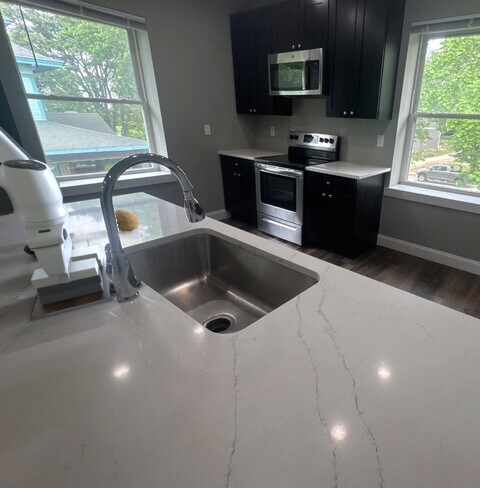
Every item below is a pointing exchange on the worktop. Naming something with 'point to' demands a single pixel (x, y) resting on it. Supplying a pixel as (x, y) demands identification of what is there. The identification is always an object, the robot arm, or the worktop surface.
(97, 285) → the grey stack
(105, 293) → the shallow tray
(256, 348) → the worktop surface
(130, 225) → the potato
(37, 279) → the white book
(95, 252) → the white stack
